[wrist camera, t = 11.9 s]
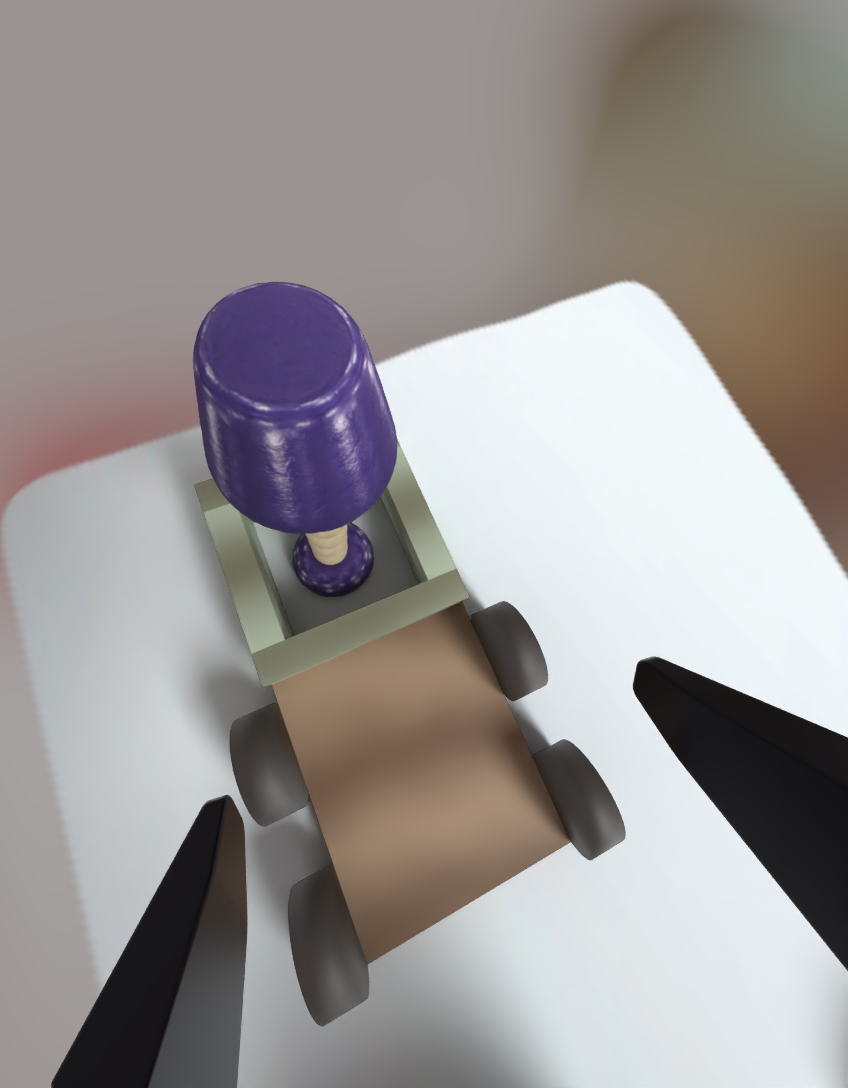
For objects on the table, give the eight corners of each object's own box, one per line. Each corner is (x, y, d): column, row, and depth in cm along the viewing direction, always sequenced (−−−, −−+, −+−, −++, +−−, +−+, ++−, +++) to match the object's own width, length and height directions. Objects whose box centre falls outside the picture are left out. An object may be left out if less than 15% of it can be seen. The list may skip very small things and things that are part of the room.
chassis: (589, 820, 21) (642, 858, 17) (335, 971, 18) (323, 1062, 14) (411, 440, 26) (419, 396, 21) (185, 517, 23) (143, 483, 19)
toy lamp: (379, 516, 24) (392, 233, 8) (388, 598, 23) (424, 454, 7) (291, 524, 24) (120, 231, 8) (296, 609, 22) (106, 475, 6)
